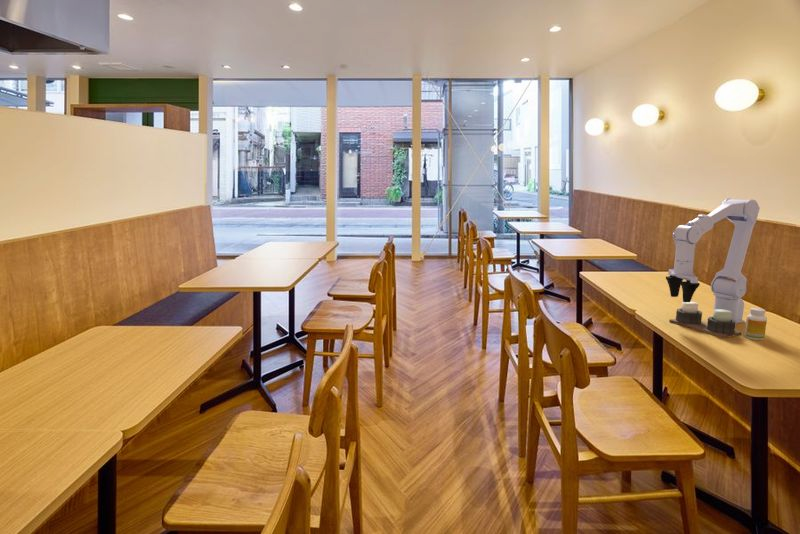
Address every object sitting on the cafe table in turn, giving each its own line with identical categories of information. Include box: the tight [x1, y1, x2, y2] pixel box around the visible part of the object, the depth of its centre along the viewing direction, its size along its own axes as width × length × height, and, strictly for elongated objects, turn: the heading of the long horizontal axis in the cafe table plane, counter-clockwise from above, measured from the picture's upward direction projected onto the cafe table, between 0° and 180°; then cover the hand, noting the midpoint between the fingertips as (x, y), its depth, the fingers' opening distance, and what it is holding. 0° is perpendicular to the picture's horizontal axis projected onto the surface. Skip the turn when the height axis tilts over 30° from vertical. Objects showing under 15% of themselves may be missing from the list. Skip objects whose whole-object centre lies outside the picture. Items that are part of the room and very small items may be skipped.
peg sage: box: [712, 309, 732, 322], centre depth 171 cm, size 5×5×4 cm
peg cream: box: [681, 301, 699, 313], centre depth 181 cm, size 5×5×4 cm
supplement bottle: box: [744, 307, 768, 341], centre depth 165 cm, size 5×5×10 cm
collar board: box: [669, 307, 742, 339], centre depth 177 cm, size 9×20×4 cm, turn 23°
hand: (680, 299), depth 176 cm, fingers open, 7 cm apart
